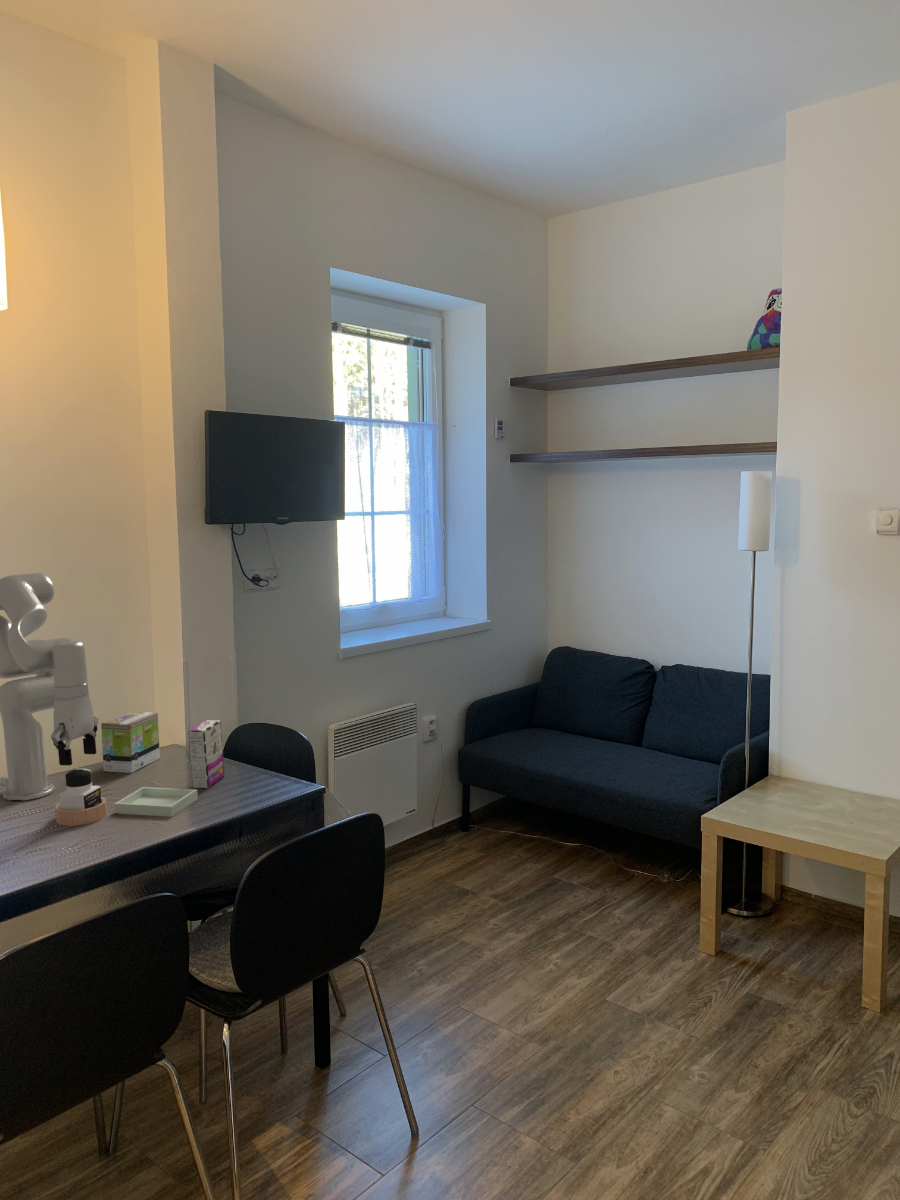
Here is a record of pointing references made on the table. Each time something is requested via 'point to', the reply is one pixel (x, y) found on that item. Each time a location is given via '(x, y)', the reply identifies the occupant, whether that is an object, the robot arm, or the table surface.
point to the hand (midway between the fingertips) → (78, 759)
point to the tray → (156, 801)
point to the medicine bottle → (79, 791)
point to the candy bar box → (206, 753)
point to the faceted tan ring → (81, 814)
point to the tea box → (130, 741)
